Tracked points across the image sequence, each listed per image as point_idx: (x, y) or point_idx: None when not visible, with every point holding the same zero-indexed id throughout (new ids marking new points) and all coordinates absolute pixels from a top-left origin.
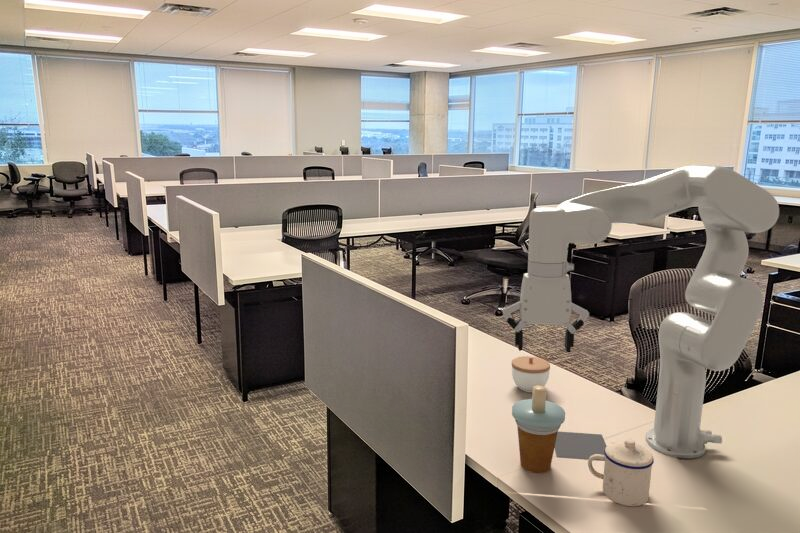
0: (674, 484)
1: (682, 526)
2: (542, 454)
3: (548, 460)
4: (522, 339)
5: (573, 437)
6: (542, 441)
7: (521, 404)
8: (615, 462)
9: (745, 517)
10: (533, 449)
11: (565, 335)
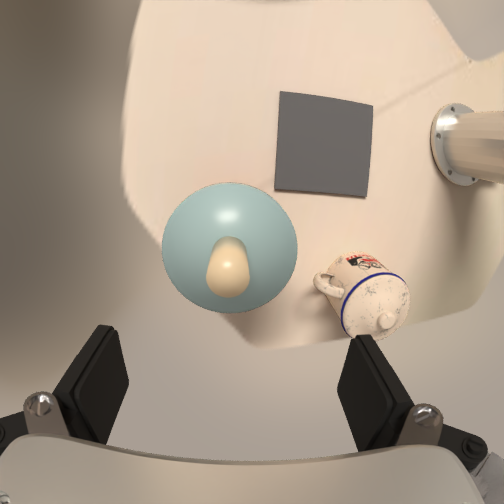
0: (421, 248)
1: None
2: None
3: None
4: (113, 423)
5: (320, 115)
6: None
7: (186, 223)
8: (347, 333)
9: (450, 302)
10: None
11: (374, 387)
